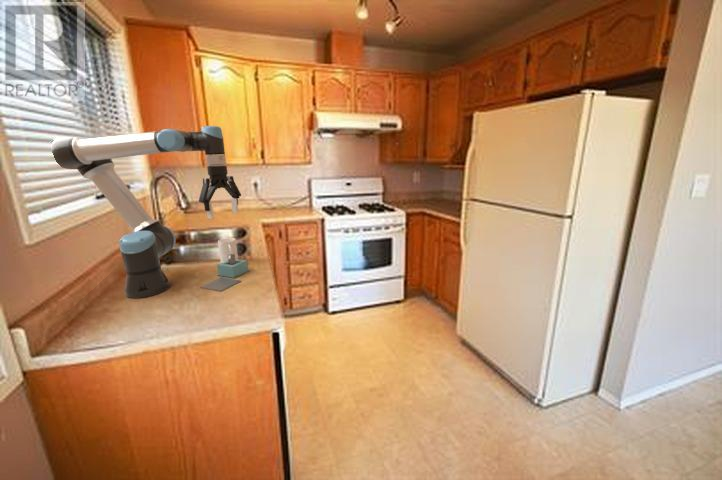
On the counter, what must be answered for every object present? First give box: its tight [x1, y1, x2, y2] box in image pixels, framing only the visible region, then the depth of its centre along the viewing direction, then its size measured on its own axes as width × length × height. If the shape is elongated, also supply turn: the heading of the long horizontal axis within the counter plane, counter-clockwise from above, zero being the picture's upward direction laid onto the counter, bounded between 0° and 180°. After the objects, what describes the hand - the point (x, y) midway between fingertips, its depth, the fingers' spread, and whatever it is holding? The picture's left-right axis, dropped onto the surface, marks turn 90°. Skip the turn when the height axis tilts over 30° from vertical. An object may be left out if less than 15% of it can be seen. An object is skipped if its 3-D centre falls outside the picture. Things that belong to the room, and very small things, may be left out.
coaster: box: [200, 276, 242, 293], centre depth 133 cm, size 11×11×1 cm
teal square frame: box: [216, 258, 249, 279], centre depth 145 cm, size 9×9×5 cm
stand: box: [216, 254, 250, 279], centre depth 145 cm, size 10×10×9 cm
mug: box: [217, 237, 239, 263], centre depth 158 cm, size 12×8×12 cm
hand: (223, 215), depth 140 cm, fingers open, 13 cm apart
